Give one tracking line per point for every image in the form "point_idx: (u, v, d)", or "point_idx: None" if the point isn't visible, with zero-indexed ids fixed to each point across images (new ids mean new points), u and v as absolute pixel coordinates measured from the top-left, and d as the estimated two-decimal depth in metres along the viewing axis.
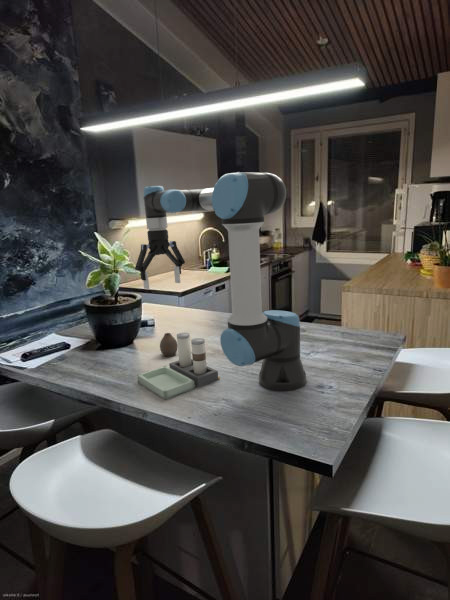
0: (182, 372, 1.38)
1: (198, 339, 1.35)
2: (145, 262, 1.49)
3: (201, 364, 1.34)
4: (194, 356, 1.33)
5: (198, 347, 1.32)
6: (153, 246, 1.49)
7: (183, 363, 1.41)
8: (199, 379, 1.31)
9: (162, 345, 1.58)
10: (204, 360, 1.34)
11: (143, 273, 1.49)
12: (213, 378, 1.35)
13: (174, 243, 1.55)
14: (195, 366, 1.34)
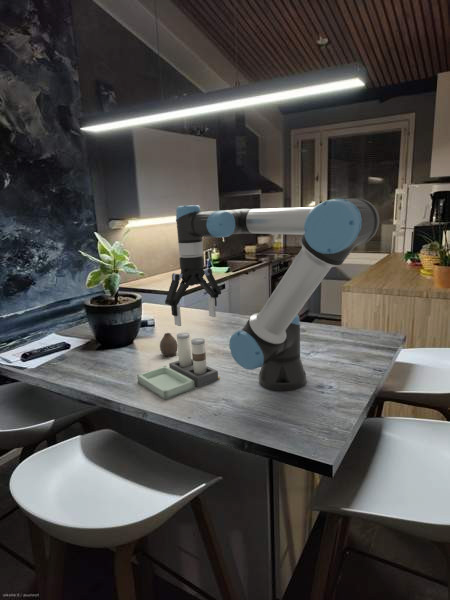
0: (182, 372, 1.38)
1: (198, 339, 1.35)
2: (177, 294, 1.26)
3: (201, 364, 1.34)
4: (194, 356, 1.33)
5: (198, 347, 1.32)
6: (186, 276, 1.26)
7: (183, 363, 1.41)
8: (199, 379, 1.31)
9: (162, 345, 1.58)
10: (204, 360, 1.34)
11: (175, 308, 1.26)
12: (213, 378, 1.35)
13: (210, 271, 1.32)
14: (195, 366, 1.34)
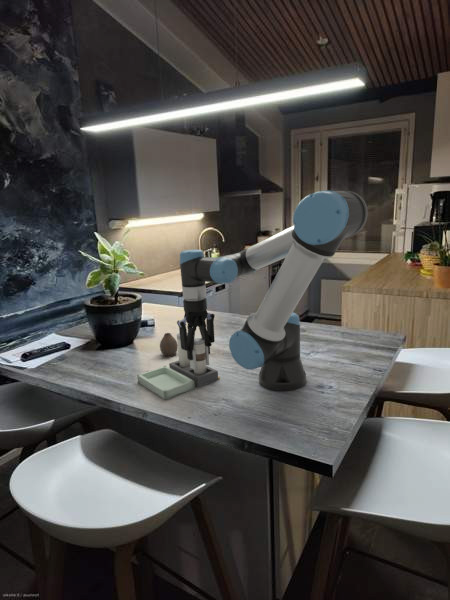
0: (182, 372, 1.38)
1: (198, 339, 1.35)
2: (189, 340, 1.31)
3: (201, 364, 1.34)
4: None
5: (198, 347, 1.32)
6: (190, 318, 1.29)
7: (183, 363, 1.41)
8: (199, 379, 1.31)
9: (162, 345, 1.58)
10: (204, 360, 1.34)
11: (190, 352, 1.32)
12: (213, 378, 1.35)
13: (212, 316, 1.35)
14: None
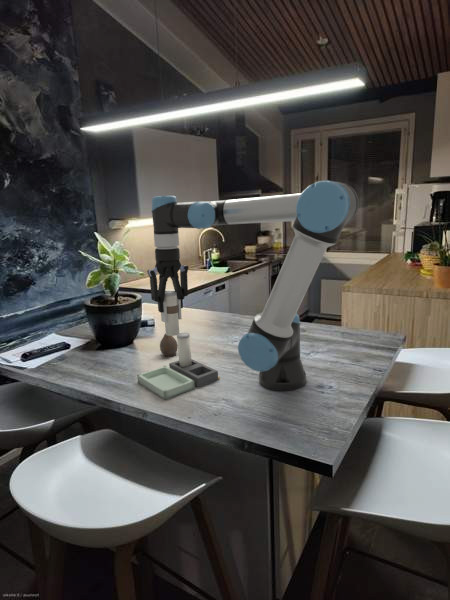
0: (182, 372, 1.38)
1: (170, 291, 1.29)
2: (160, 291, 1.26)
3: (172, 317, 1.29)
4: None
5: (169, 299, 1.27)
6: (161, 267, 1.24)
7: (183, 363, 1.41)
8: (199, 379, 1.31)
9: (162, 345, 1.58)
10: (176, 313, 1.29)
11: (161, 304, 1.27)
12: (213, 378, 1.35)
13: (186, 268, 1.29)
14: None
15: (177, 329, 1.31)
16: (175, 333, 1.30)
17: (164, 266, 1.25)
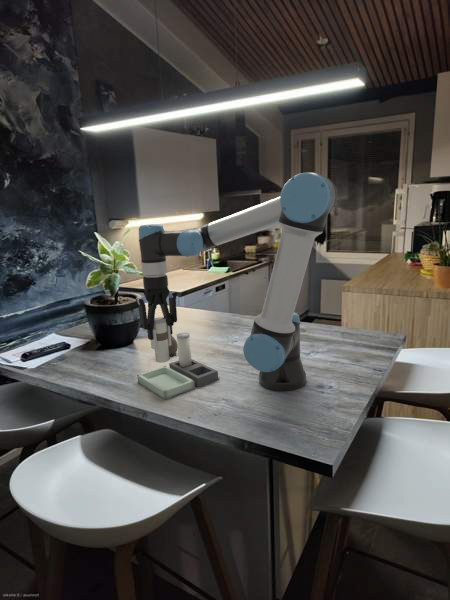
0: (182, 372, 1.38)
1: (159, 318, 1.30)
2: (149, 318, 1.26)
3: (162, 344, 1.29)
4: None
5: (158, 326, 1.27)
6: (150, 295, 1.24)
7: (183, 363, 1.41)
8: (199, 379, 1.31)
9: None
10: (165, 340, 1.29)
11: (150, 332, 1.27)
12: (213, 378, 1.35)
13: (174, 295, 1.30)
14: None
15: (167, 355, 1.31)
16: (166, 359, 1.30)
17: (153, 294, 1.25)
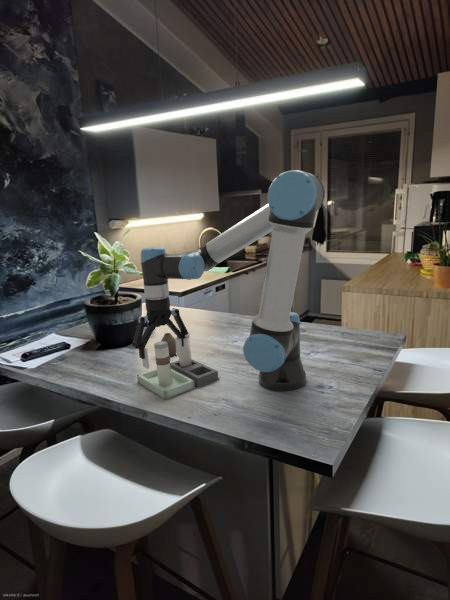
0: (182, 372, 1.38)
1: (161, 342, 1.31)
2: (144, 337, 1.26)
3: (164, 368, 1.30)
4: (157, 360, 1.30)
5: (161, 351, 1.29)
6: (152, 317, 1.26)
7: (183, 363, 1.41)
8: (199, 379, 1.31)
9: None
10: (168, 364, 1.31)
11: (142, 351, 1.26)
12: (213, 378, 1.35)
13: (177, 312, 1.31)
14: (158, 370, 1.31)
15: (170, 379, 1.32)
16: (168, 383, 1.32)
17: (156, 315, 1.27)
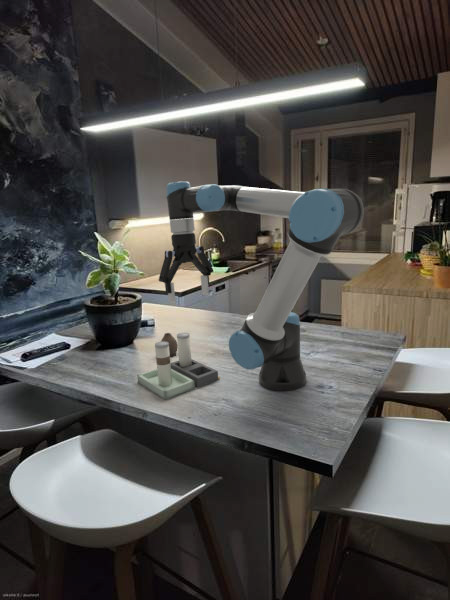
0: (182, 372, 1.38)
1: (162, 342, 1.31)
2: (170, 272, 1.26)
3: (165, 368, 1.30)
4: (158, 360, 1.30)
5: (161, 351, 1.29)
6: (179, 253, 1.27)
7: (183, 363, 1.41)
8: (199, 379, 1.31)
9: None
10: (168, 364, 1.31)
11: (168, 285, 1.26)
12: (213, 378, 1.35)
13: (202, 249, 1.32)
14: (159, 370, 1.31)
15: (170, 379, 1.32)
16: (168, 383, 1.32)
17: (183, 250, 1.28)
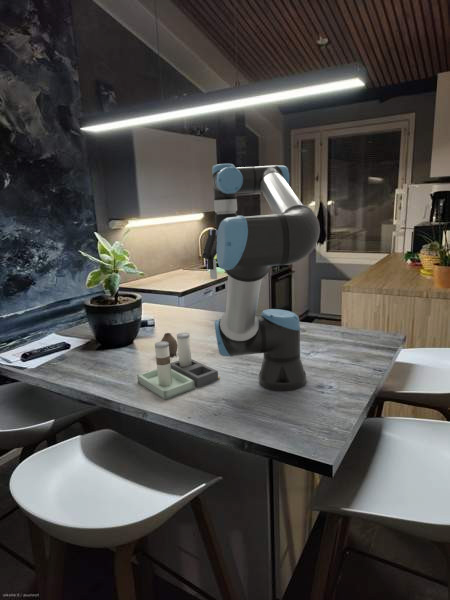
0: (182, 372, 1.38)
1: (162, 342, 1.31)
2: (213, 249, 1.34)
3: (165, 368, 1.30)
4: (157, 360, 1.30)
5: (161, 351, 1.29)
6: None
7: (183, 363, 1.41)
8: (199, 379, 1.31)
9: None
10: (168, 364, 1.31)
11: (211, 261, 1.34)
12: (213, 378, 1.35)
13: None
14: (159, 370, 1.31)
15: (170, 379, 1.32)
16: (168, 383, 1.32)
17: None
